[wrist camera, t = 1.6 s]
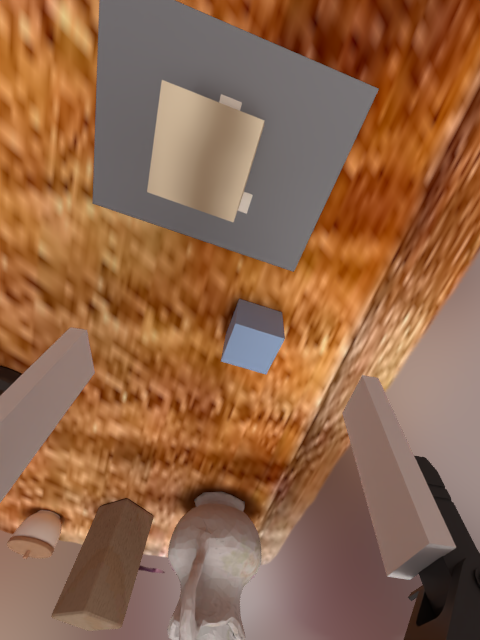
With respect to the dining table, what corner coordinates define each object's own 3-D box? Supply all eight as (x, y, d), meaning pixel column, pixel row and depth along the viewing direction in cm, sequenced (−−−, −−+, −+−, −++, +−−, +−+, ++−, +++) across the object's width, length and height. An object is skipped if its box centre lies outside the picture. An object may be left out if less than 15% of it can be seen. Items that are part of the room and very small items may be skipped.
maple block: (176, 178, 29) (146, 192, 22) (191, 96, 26) (161, 79, 18) (240, 201, 30) (233, 222, 23) (264, 125, 27) (264, 120, 19)
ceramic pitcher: (162, 479, 65) (105, 640, 45) (239, 471, 58) (213, 657, 38) (207, 521, 75) (177, 668, 55) (276, 518, 68) (271, 685, 48)
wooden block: (127, 497, 69) (83, 614, 52) (154, 515, 73) (122, 629, 56) (99, 505, 72) (49, 617, 55) (126, 522, 76) (88, 631, 59)
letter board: (94, 202, 32) (92, 203, 31) (103, -30, 22) (100, -32, 22) (293, 270, 35) (293, 271, 34) (377, 89, 25) (379, 88, 25)
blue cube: (226, 333, 40) (220, 361, 35) (239, 298, 37) (235, 323, 32) (265, 345, 41) (266, 374, 36) (281, 312, 38) (284, 338, 33)
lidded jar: (60, 527, 81) (38, 569, 73) (23, 513, 78) (-4, 556, 70) (75, 516, 76) (53, 560, 68) (36, 501, 73) (9, 545, 65)
